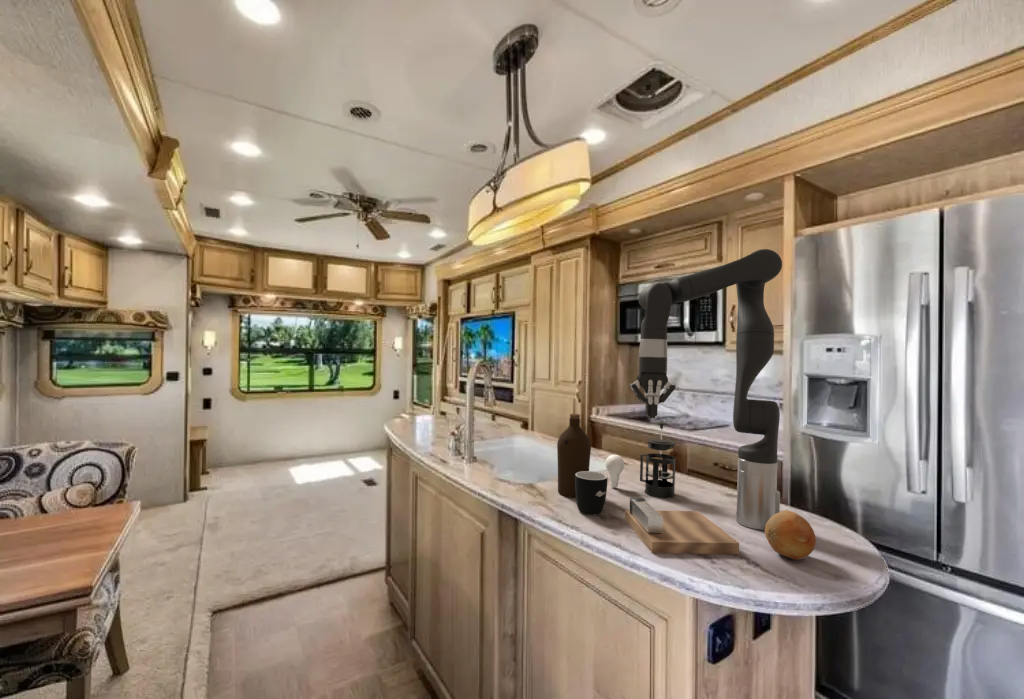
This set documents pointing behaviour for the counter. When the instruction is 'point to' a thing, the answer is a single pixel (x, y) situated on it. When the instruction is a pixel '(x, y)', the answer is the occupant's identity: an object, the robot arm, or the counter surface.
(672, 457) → the french press
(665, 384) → the robot arm
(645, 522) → the hinged leg
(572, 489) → the olive oil
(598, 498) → the mug
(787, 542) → the onion
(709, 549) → the wooden cutting board
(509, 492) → the counter surface
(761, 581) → the counter surface
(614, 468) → the lightbulb
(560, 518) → the counter surface
